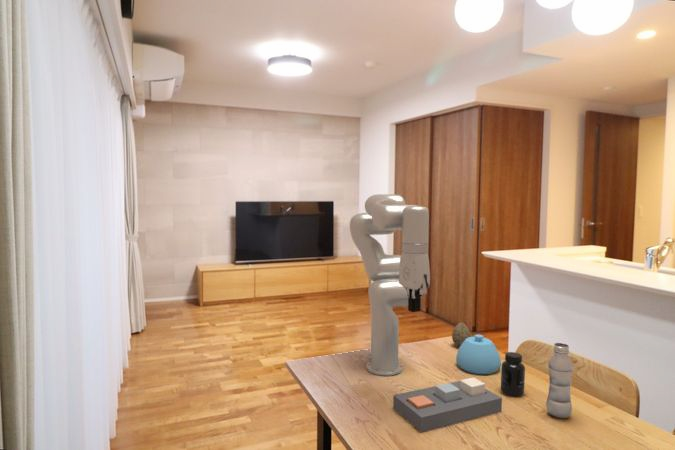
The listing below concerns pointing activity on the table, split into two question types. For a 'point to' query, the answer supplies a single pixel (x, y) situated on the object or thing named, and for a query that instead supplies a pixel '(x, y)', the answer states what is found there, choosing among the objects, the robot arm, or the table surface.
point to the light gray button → (447, 392)
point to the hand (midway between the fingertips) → (414, 310)
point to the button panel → (445, 408)
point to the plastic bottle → (560, 382)
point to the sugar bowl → (478, 355)
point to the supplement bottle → (513, 375)
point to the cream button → (472, 387)
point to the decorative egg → (460, 334)
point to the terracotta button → (420, 402)
